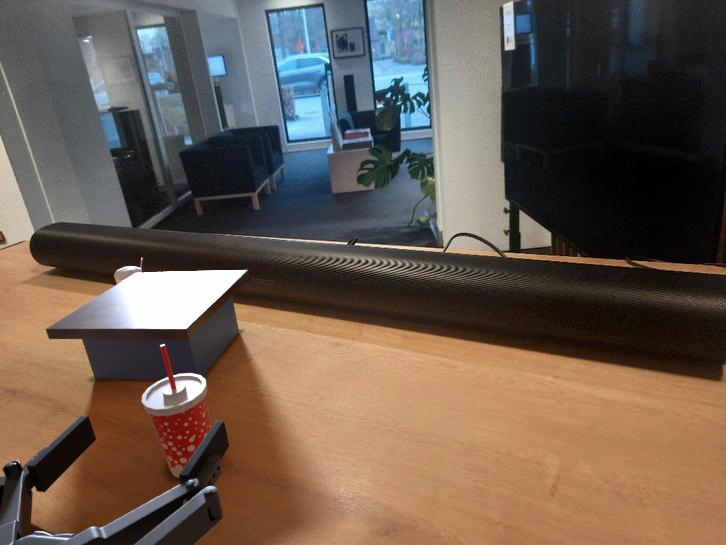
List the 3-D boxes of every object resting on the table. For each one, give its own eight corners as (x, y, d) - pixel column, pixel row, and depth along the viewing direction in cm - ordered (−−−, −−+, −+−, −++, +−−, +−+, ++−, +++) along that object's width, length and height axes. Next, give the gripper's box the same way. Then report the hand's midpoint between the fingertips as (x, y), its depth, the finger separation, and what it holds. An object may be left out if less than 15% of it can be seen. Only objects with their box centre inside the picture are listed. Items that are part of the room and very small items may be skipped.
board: (48, 339, 65) (45, 329, 64) (137, 281, 83) (135, 272, 83) (189, 339, 61) (186, 328, 60) (249, 278, 79) (247, 269, 79)
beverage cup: (230, 467, 51) (202, 347, 46) (168, 494, 48) (132, 370, 43) (214, 435, 56) (188, 324, 51) (158, 458, 53) (124, 343, 48)
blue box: (94, 378, 70) (78, 328, 67) (149, 331, 83) (137, 287, 80) (198, 380, 67) (186, 328, 64) (239, 331, 80) (230, 286, 77)
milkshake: (161, 311, 91) (148, 259, 87) (132, 322, 87) (117, 269, 83) (150, 305, 94) (137, 255, 90) (121, 316, 90) (106, 264, 86)
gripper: (-216, 707, 30) (49, 456, 49) (162, 777, 25) (289, 469, 44) (-286, 621, 27) (24, 392, 46) (123, 683, 22) (277, 399, 42)
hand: (154, 429), depth 45 cm, fingers open, 13 cm apart
